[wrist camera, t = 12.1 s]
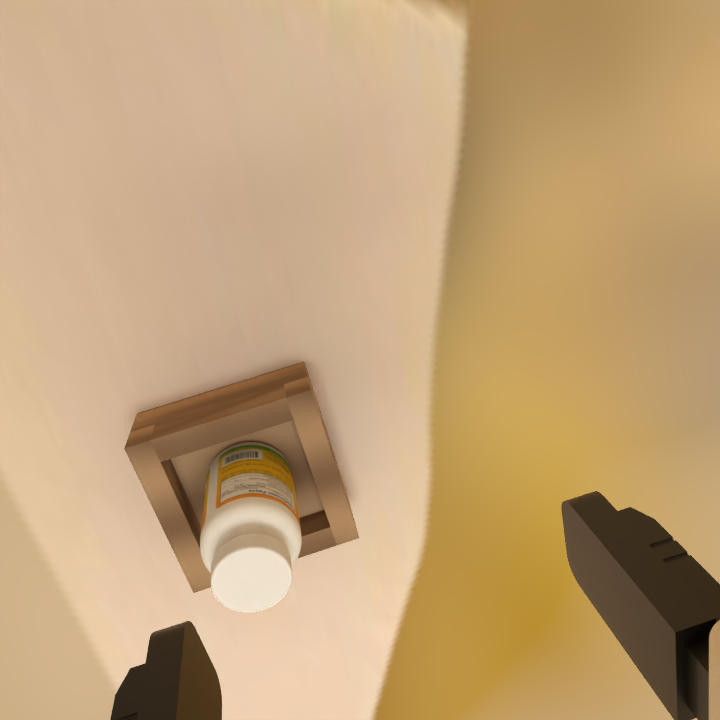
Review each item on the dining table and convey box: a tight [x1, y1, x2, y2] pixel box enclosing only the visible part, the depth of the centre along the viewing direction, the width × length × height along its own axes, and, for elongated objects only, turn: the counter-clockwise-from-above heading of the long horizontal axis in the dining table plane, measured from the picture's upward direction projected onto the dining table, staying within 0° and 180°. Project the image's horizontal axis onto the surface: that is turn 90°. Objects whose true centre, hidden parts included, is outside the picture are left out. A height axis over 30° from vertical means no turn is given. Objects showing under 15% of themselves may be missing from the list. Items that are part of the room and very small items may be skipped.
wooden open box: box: [124, 362, 359, 593], centre depth 40 cm, size 11×11×4 cm
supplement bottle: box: [200, 442, 302, 613], centre depth 35 cm, size 5×5×10 cm
